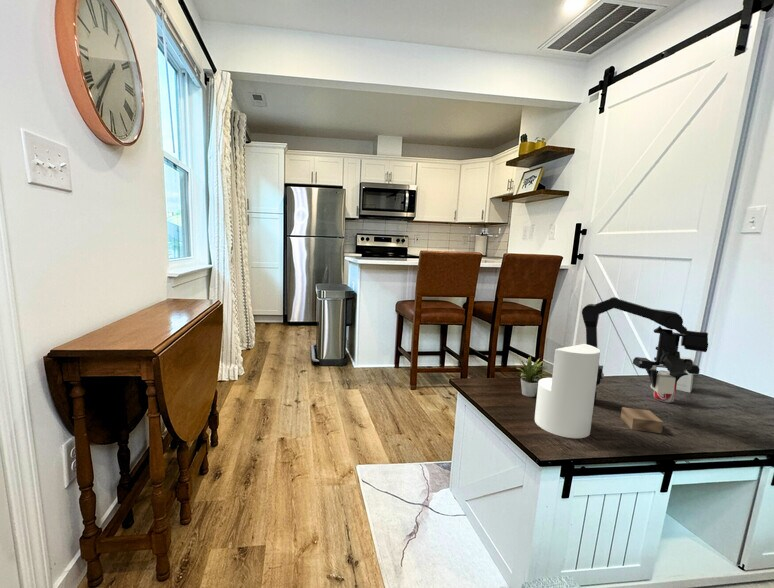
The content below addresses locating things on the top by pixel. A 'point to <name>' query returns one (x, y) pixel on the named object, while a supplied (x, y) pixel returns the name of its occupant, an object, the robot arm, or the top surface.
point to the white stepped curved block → (569, 392)
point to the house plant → (530, 377)
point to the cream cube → (664, 383)
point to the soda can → (663, 396)
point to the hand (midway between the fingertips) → (661, 388)
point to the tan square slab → (641, 420)
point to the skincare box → (685, 380)
